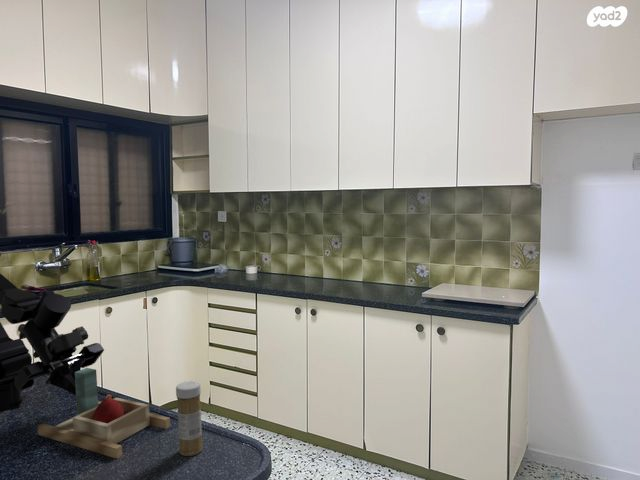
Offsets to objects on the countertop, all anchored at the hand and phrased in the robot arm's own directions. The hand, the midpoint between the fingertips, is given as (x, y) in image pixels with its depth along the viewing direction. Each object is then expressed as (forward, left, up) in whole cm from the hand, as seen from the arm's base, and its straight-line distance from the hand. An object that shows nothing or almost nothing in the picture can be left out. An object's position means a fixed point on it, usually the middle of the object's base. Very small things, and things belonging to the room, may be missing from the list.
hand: (81, 394), depth 103 cm
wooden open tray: (+4, +4, -6) cm, 9 cm away
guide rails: (+5, +5, -7) cm, 10 cm away
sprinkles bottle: (+20, +22, -7) cm, 31 cm away
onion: (+6, +6, -7) cm, 11 cm away
